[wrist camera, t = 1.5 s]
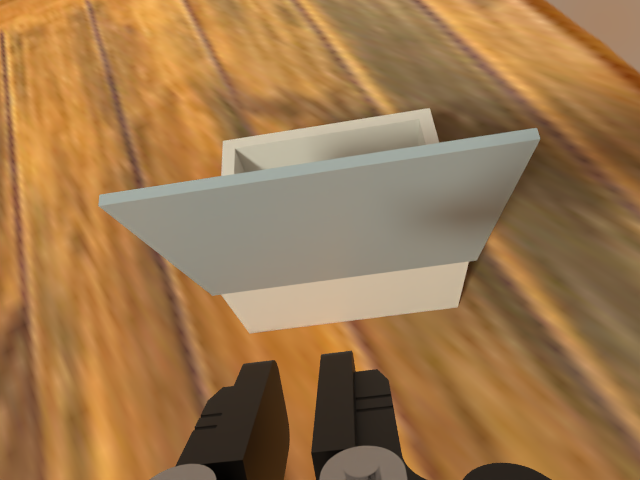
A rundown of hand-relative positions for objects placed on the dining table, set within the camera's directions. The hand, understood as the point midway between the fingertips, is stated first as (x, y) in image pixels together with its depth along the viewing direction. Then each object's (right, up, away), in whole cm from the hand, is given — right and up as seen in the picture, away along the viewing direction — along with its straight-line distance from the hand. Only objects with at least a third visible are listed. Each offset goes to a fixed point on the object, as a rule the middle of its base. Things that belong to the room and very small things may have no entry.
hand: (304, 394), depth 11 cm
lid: (+1, +4, +19) cm, 19 cm away
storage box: (+3, +3, +39) cm, 39 cm away
